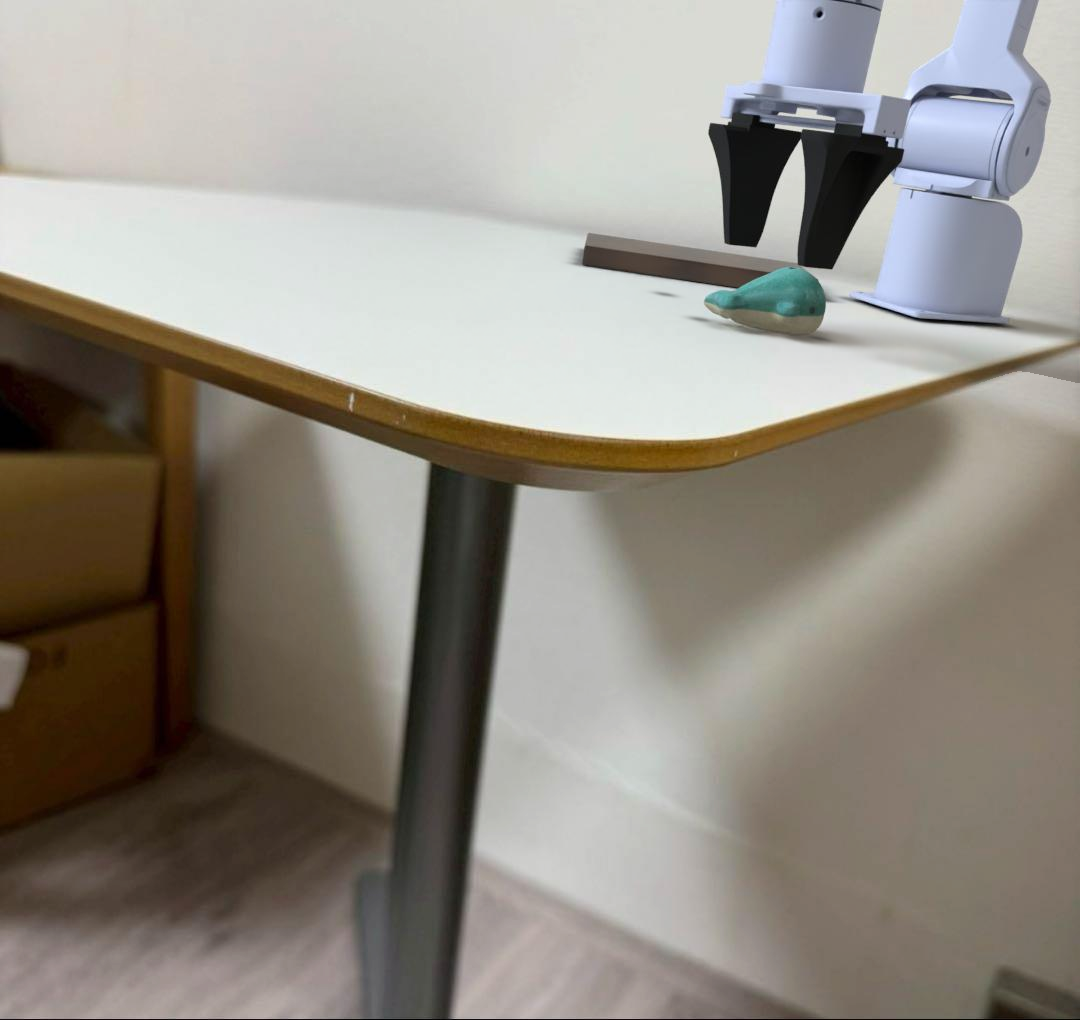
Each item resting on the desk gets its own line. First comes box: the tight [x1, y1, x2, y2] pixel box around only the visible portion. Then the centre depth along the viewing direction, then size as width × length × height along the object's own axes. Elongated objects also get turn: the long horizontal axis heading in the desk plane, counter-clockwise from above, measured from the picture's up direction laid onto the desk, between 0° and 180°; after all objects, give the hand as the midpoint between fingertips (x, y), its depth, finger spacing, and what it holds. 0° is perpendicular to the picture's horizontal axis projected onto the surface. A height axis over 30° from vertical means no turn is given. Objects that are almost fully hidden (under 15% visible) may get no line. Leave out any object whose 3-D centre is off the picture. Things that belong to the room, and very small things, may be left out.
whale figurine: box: [703, 267, 827, 336], centre depth 64 cm, size 6×7×4 cm
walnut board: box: [581, 232, 820, 289], centre depth 85 cm, size 18×10×2 cm, turn 86°
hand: (775, 256), depth 63 cm, fingers open, 7 cm apart
